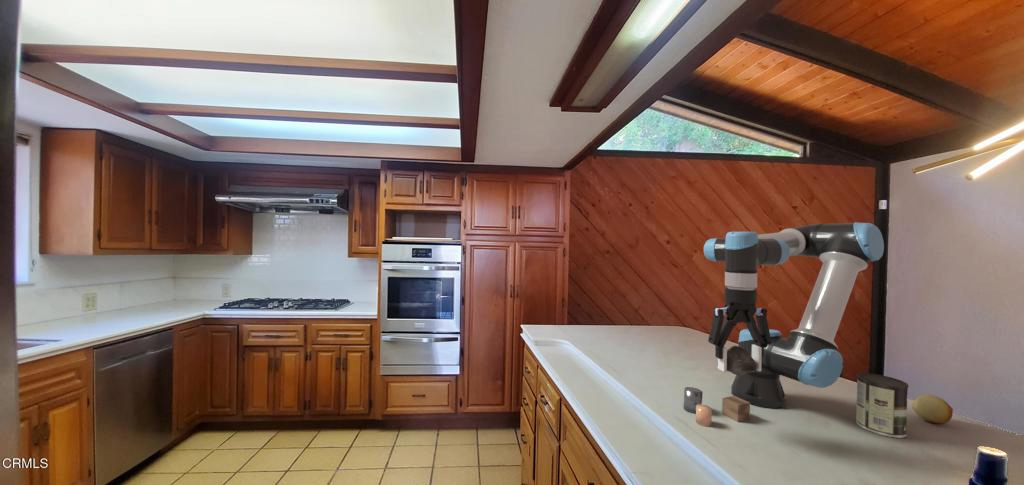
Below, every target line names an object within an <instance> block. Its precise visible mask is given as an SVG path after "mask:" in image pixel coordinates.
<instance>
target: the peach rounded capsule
mask: <svg viewBox="0 0 1024 485" xmlns="http://www.w3.org/2000/svg"><path fill="white" fill-rule="evenodd" d="M712 412H713V409H712V407H710V406H709V405H706V404H703V403H702V404H698V405H696V413H695V423H696V424H697V425H699V426H702V427H709V428H710V427H712V421H713V420H712V418H713V413H712Z"/></svg>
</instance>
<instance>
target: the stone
mask: <svg viewBox="0 0 1024 485" xmlns="http://www.w3.org/2000/svg"><path fill="white" fill-rule="evenodd" d="M716 366H717V368H718V359H717V360H716ZM756 370H757V367H756V364H755V361H754V360H753V358H752V357H751V355H750V354H749V353H748V352H747V351H746V350H745V349H743V348H741V347H739V345H732V346H730V347H729V348H727V372H730V373H732V374H734V375H735V376H736V375H738V376H740V375H744V374H746V373H750V372H755V371H756Z"/></svg>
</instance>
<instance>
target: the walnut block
mask: <svg viewBox="0 0 1024 485" xmlns="http://www.w3.org/2000/svg"><path fill="white" fill-rule="evenodd" d="M721 404H722V405H721V409H722V410H721V415H723V416H725V417H727V418H728V419H731V420H733V421H735V422H737V423H739V422H743V421H748V420H750V417H751V415H750V414H751V404H750V402H747V401H745V400H743V399H740V398H738V397H736V396H733V395H731V396H726V397H722V403H721Z"/></svg>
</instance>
